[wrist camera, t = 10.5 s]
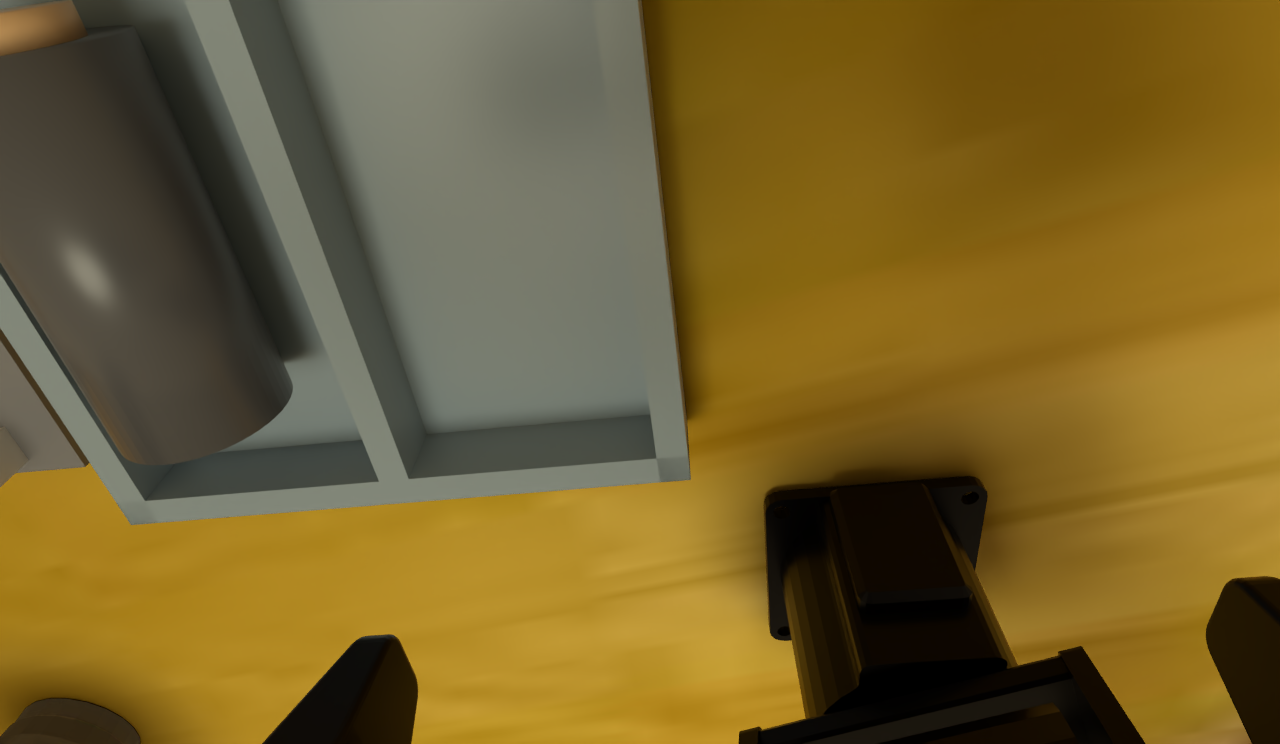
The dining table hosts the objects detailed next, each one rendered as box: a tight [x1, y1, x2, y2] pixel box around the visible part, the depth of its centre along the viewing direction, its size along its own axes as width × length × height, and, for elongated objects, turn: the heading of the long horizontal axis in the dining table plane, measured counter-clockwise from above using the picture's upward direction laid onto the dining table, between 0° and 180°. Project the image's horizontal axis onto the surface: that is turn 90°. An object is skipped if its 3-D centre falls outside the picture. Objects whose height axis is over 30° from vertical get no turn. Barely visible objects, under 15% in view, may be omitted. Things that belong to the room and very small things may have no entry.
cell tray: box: [0, 0, 691, 525], centre depth 17 cm, size 16×15×2 cm
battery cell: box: [0, 0, 293, 465], centre depth 16 cm, size 9×4×4 cm, turn 7°
